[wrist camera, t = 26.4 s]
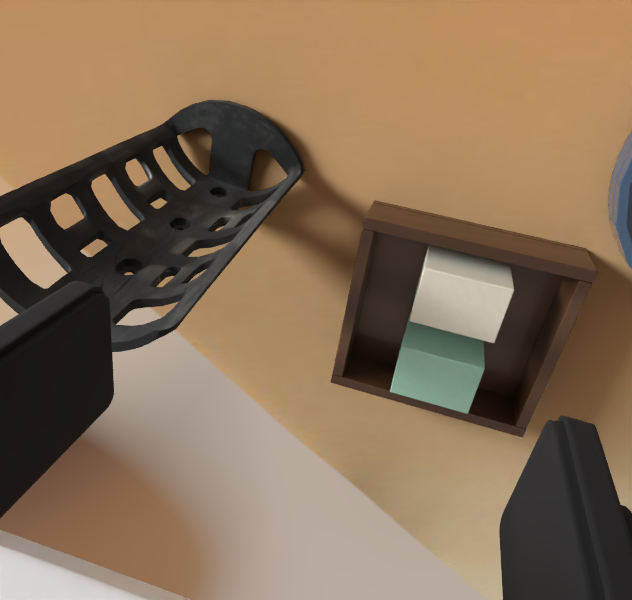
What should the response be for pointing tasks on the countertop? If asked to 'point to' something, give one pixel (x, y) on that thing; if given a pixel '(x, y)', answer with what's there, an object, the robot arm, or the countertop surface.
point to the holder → (154, 217)
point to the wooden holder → (500, 357)
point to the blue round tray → (622, 201)
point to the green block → (438, 367)
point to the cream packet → (462, 293)
